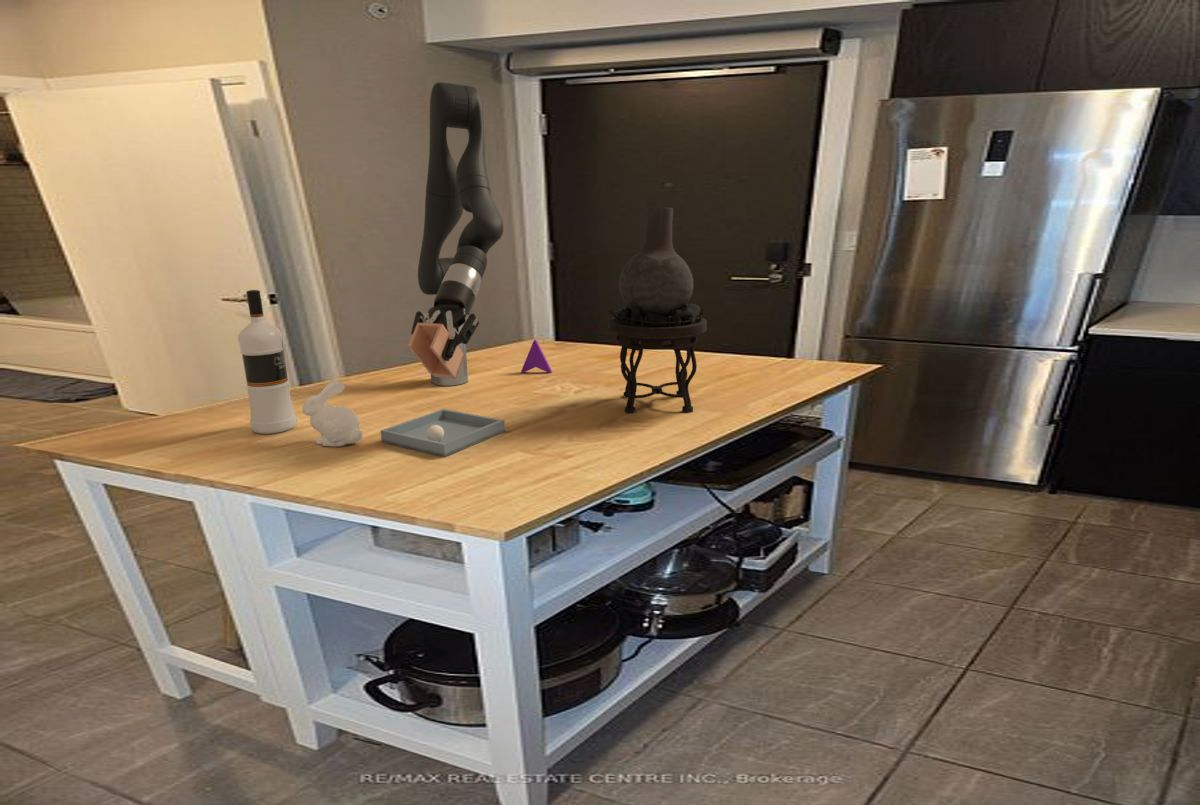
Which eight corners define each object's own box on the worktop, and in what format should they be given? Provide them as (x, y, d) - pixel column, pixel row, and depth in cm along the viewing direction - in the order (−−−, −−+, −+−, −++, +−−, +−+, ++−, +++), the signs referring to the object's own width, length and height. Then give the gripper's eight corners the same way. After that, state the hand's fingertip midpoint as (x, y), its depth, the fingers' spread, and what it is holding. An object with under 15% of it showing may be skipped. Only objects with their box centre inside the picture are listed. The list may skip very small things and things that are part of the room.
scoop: (432, 376, 139) (407, 345, 130) (441, 354, 141) (417, 322, 132) (456, 378, 137) (432, 347, 128) (465, 356, 139) (442, 323, 130)
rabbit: (302, 444, 136) (293, 387, 133) (335, 430, 144) (328, 376, 141) (349, 451, 132) (341, 392, 128) (381, 436, 140) (374, 380, 137)
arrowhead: (537, 386, 195) (560, 363, 192) (536, 388, 193) (560, 364, 191) (512, 362, 194) (535, 338, 191) (511, 364, 192) (534, 339, 190)
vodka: (251, 425, 149) (228, 289, 141) (297, 419, 153) (277, 286, 144) (251, 437, 141) (226, 293, 133) (299, 431, 145) (278, 290, 136)
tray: (381, 442, 136) (380, 430, 136) (444, 419, 151) (443, 408, 150) (445, 457, 127) (444, 444, 127) (505, 431, 142) (504, 420, 141)
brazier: (598, 413, 153) (594, 207, 140) (622, 389, 173) (620, 207, 161) (697, 420, 147) (702, 205, 134) (709, 393, 168) (714, 205, 155)
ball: (424, 432, 135) (425, 422, 133) (441, 429, 137) (442, 420, 134) (428, 446, 134) (429, 437, 131) (444, 443, 135) (446, 434, 133)
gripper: (420, 278, 139) (390, 344, 132) (482, 279, 135) (455, 348, 127) (436, 301, 146) (408, 366, 138) (495, 303, 141) (470, 370, 133)
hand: (431, 357), depth 133 cm, fingers closed on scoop, 5 cm apart
